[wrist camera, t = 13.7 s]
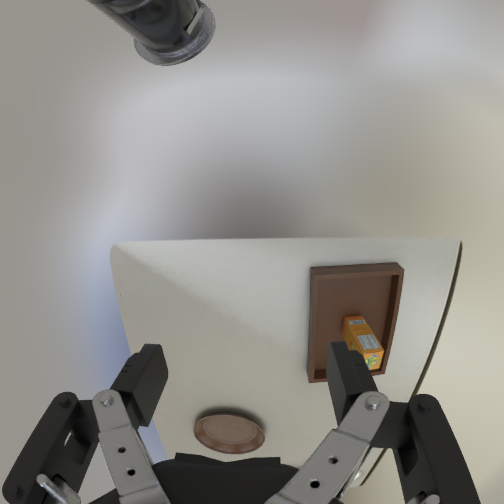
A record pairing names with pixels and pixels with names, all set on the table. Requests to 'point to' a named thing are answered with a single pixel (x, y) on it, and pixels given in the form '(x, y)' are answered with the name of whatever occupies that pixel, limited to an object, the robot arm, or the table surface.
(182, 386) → the table surface
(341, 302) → the tray
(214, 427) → the saucer
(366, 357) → the supplement box
